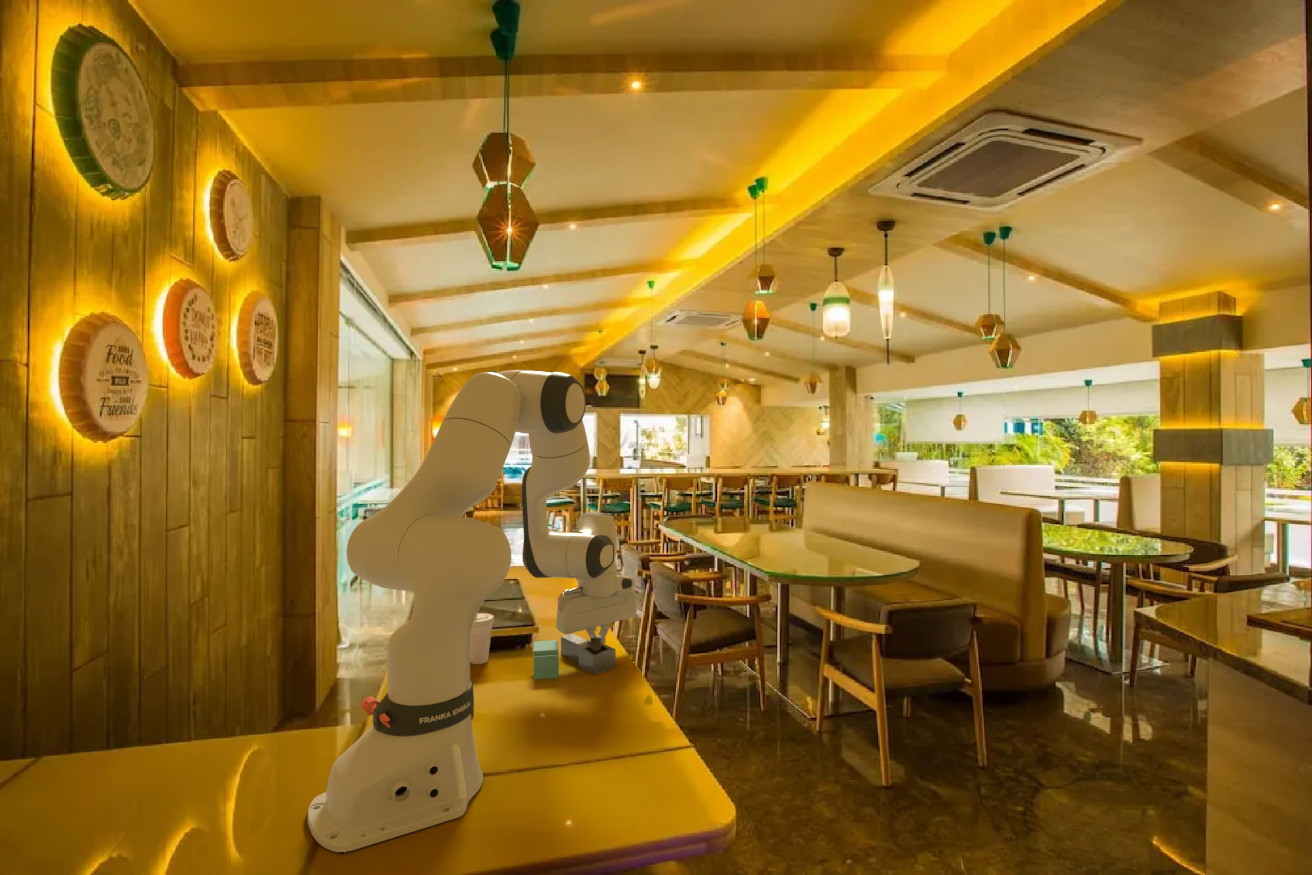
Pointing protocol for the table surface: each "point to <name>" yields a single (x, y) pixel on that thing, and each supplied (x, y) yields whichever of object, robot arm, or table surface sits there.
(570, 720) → the table surface
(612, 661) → the link
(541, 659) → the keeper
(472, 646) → the smoothie
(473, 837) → the table surface
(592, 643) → the pintle
